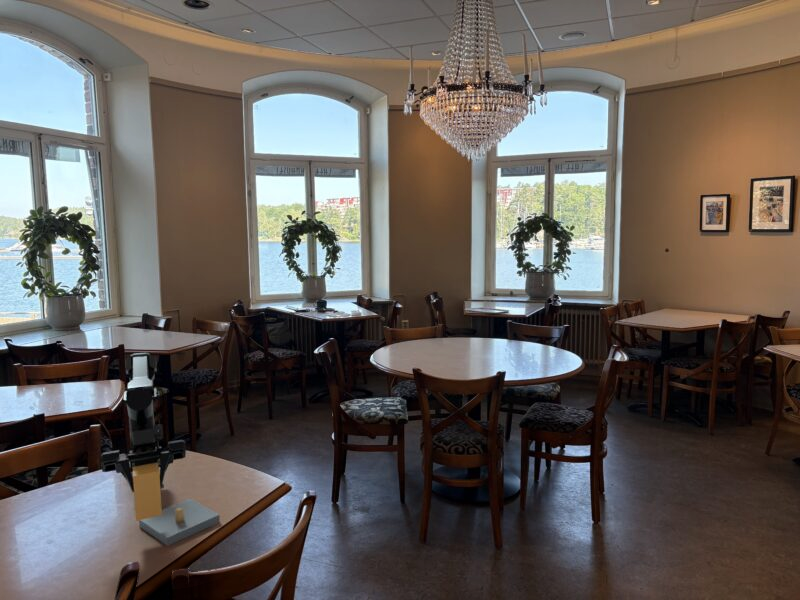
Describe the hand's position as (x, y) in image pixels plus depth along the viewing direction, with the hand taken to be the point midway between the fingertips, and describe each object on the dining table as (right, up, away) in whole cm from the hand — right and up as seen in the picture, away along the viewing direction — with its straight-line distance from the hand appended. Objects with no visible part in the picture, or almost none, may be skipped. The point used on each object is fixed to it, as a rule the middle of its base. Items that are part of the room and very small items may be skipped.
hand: (147, 489), depth 130 cm
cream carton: (-1, -6, +2) cm, 7 cm away
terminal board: (+4, -12, +9) cm, 16 cm away
